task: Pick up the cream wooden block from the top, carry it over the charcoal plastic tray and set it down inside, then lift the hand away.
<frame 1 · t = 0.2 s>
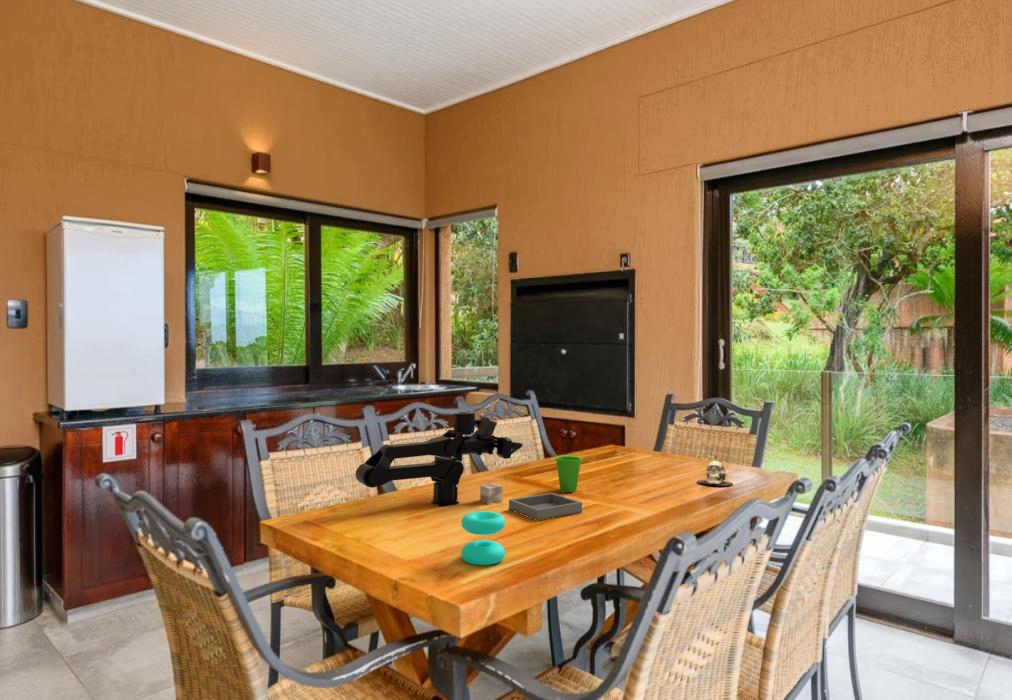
hand: (513, 442, 210), 16 cm above the table, tool horizontal, fingers open, 9 cm apart
tray: (545, 511, 187), on the table
block: (491, 502, 198), on the table
cup: (568, 491, 213), on the table
skull: (714, 484, 226), on the table
donuts: (483, 560, 146), on the table
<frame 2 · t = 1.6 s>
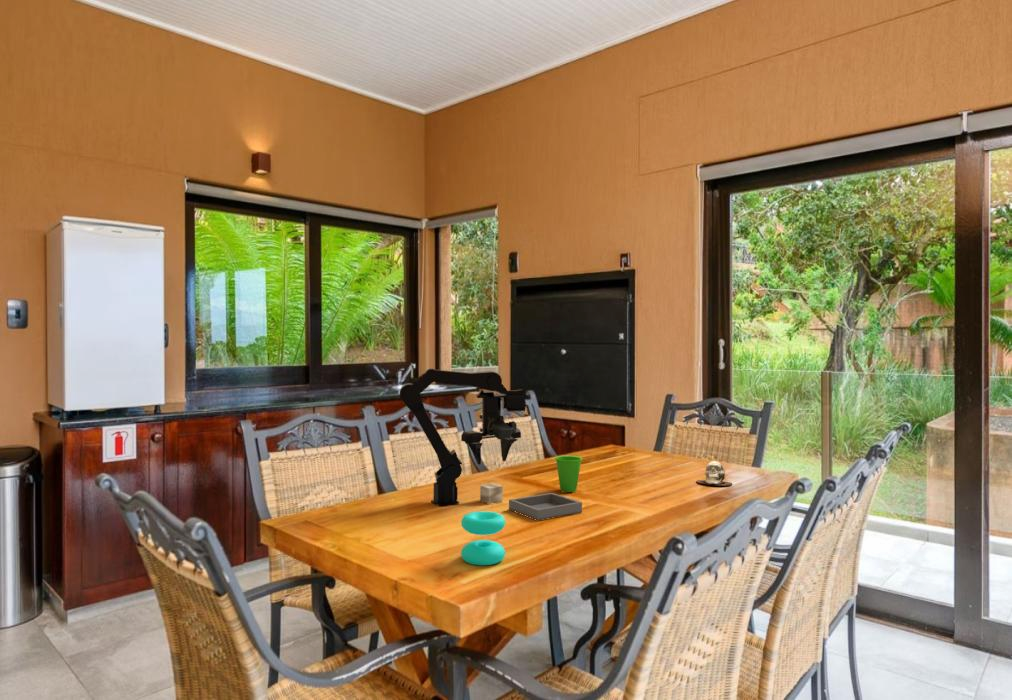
hand: (491, 462, 198), 12 cm above the table, tool pointing down, fingers open, 9 cm apart
nothing on the table moved.
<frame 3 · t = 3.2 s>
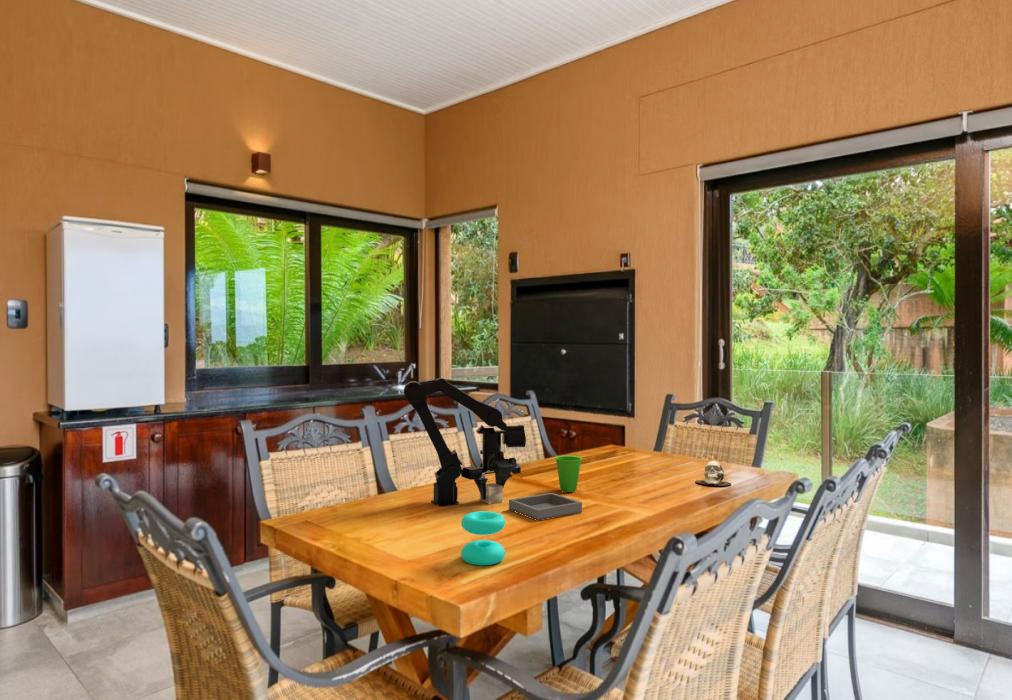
hand: (491, 498, 198), 1 cm above the table, tool pointing down, fingers closed on block, 5 cm apart
block: (491, 501, 198), on the table, touching gripper
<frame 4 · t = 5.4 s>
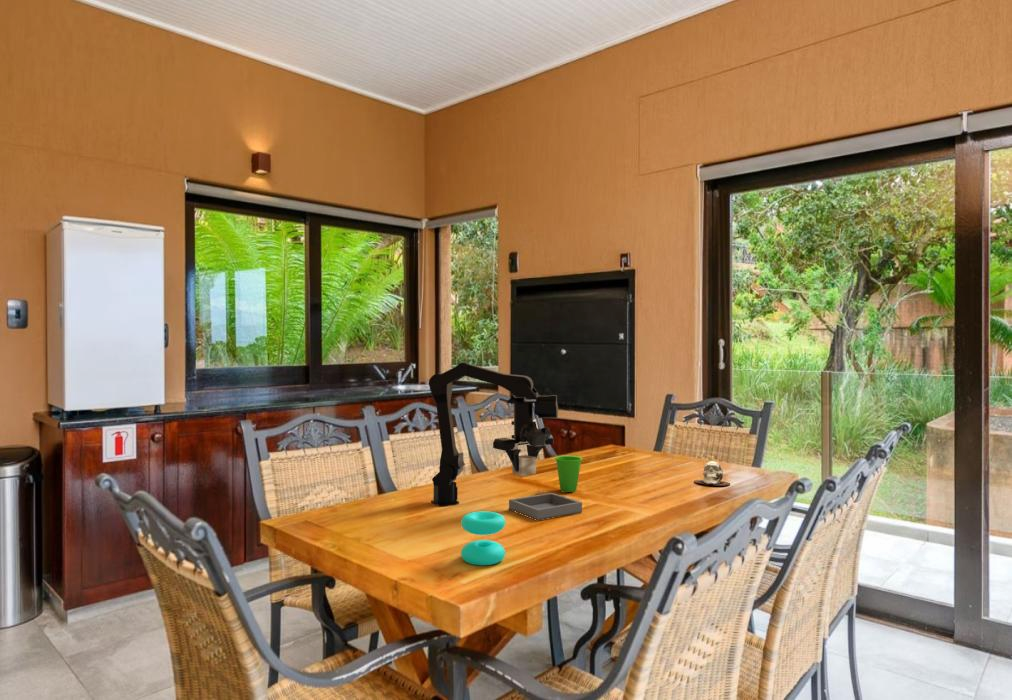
hand: (524, 470, 192), 11 cm above the table, tool pointing down, fingers closed on block, 5 cm apart
block: (524, 473, 192), point 10 cm above the table, touching gripper
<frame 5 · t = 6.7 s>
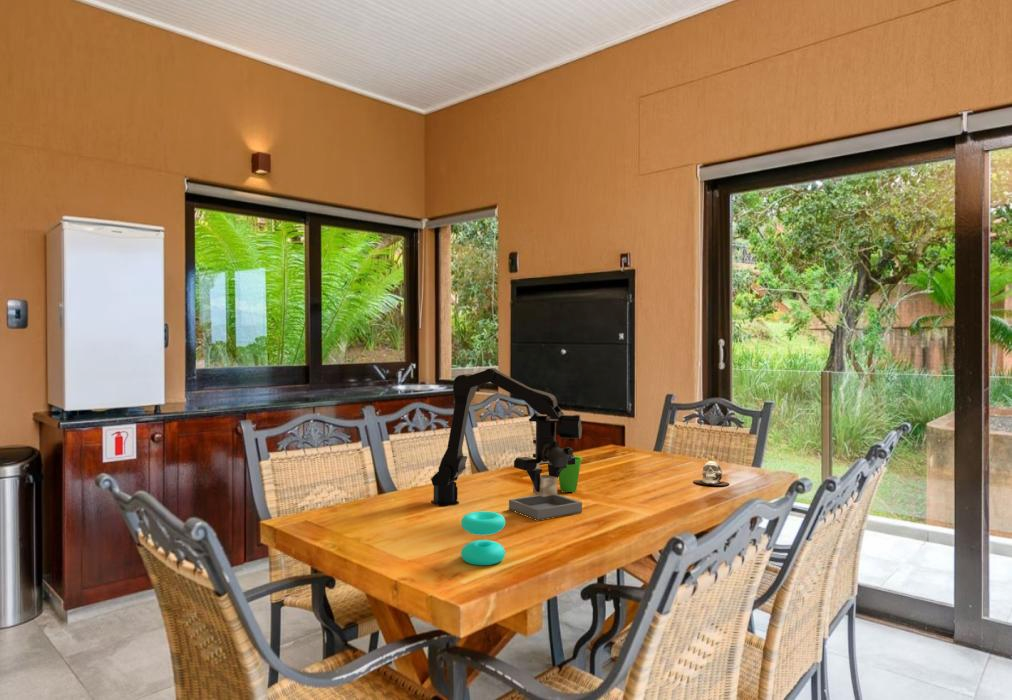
hand: (545, 490, 187), 6 cm above the table, tool pointing down, fingers closed on block, 5 cm apart
block: (544, 493, 187), point 5 cm above the table, touching gripper
when the fingers open (3 cm above the table, at t = 7.6 s): block drops 1 cm, resting on tray.
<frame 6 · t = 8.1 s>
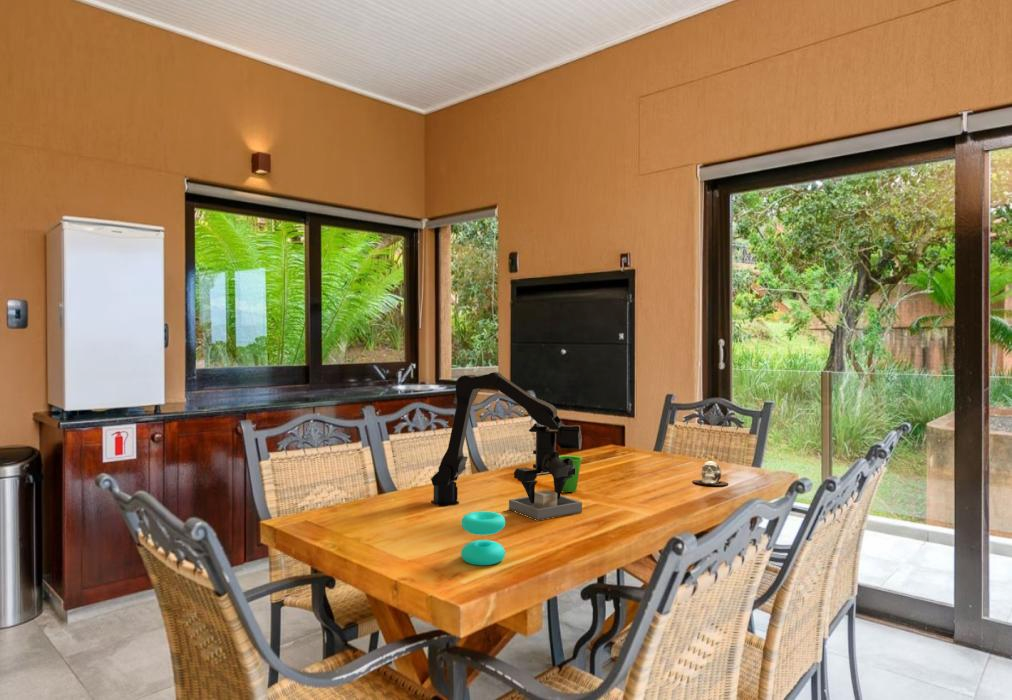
hand: (545, 501, 187), 3 cm above the table, tool pointing down, fingers open, 9 cm apart
block: (545, 509, 187), resting on tray
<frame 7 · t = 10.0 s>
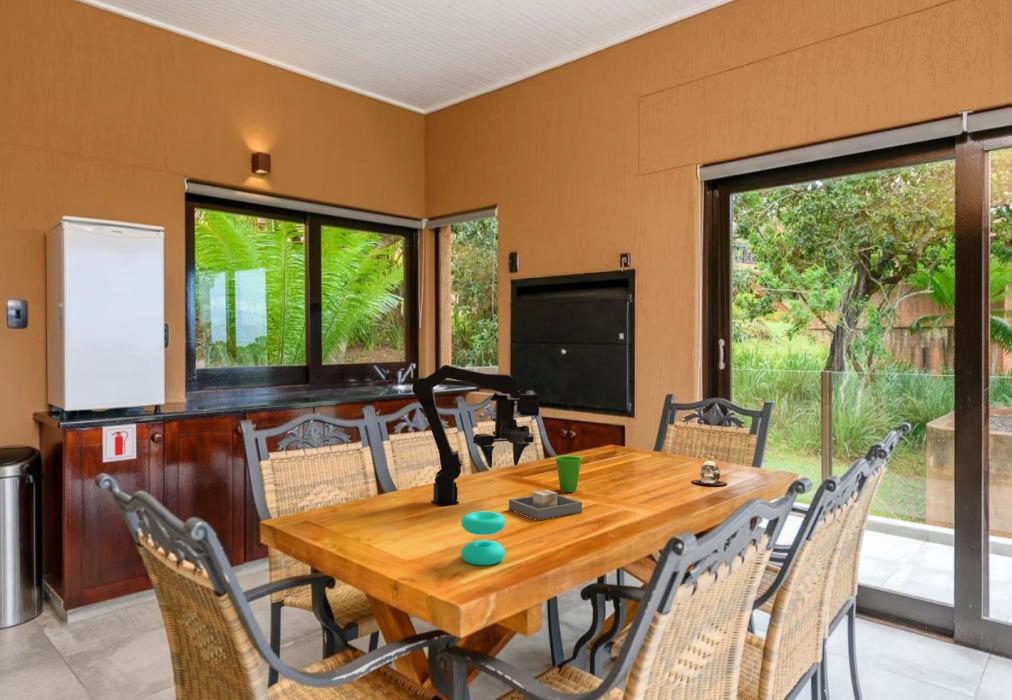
hand: (503, 466, 197), 11 cm above the table, tool pointing down, fingers open, 9 cm apart
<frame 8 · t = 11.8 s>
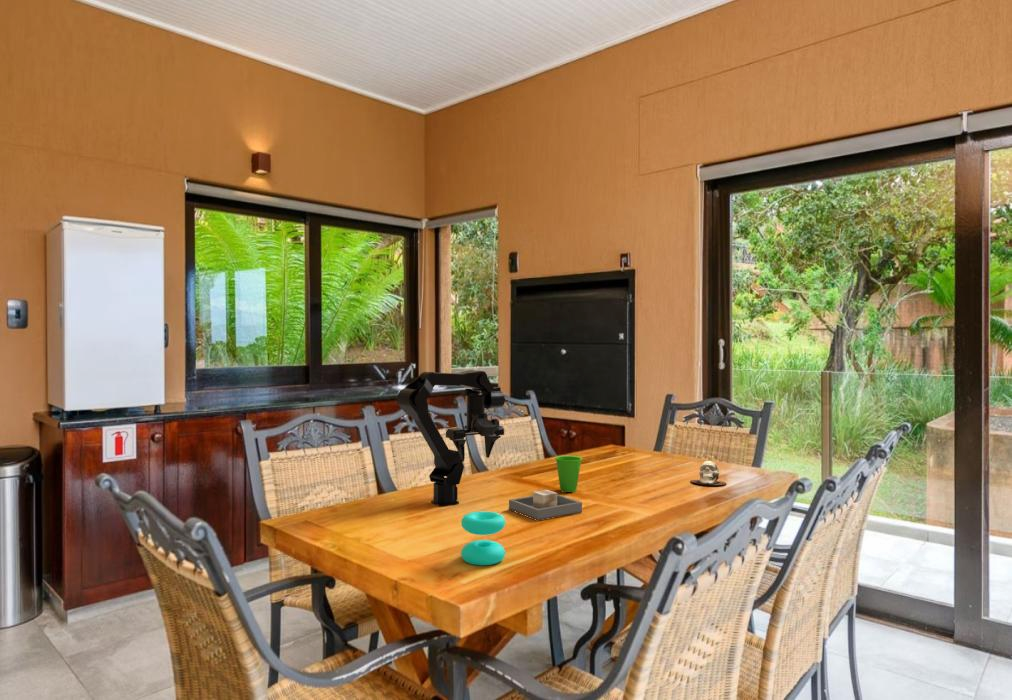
hand: (475, 459, 204), 12 cm above the table, tool pointing down, fingers open, 9 cm apart
at the end: block inside the target area on the tray (0.0 cm from its centre), point 0.5 cm above the tray's base; the gripper is holding nothing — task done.
